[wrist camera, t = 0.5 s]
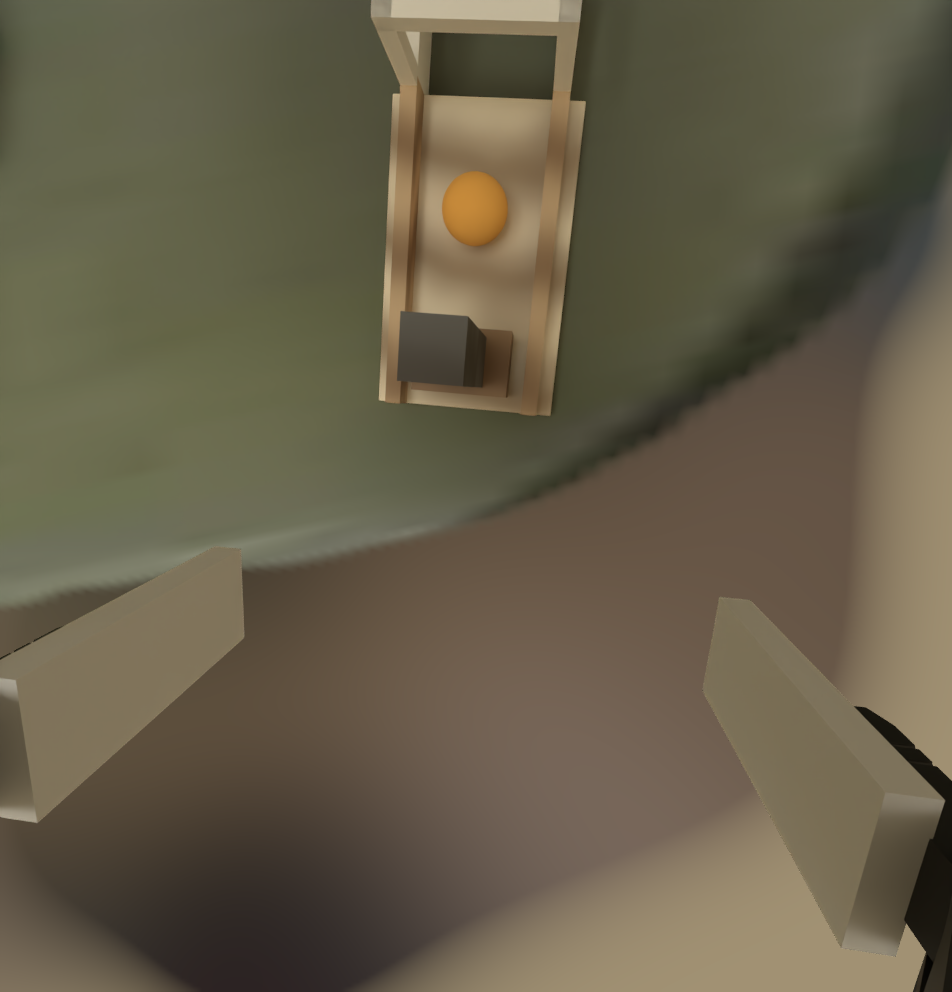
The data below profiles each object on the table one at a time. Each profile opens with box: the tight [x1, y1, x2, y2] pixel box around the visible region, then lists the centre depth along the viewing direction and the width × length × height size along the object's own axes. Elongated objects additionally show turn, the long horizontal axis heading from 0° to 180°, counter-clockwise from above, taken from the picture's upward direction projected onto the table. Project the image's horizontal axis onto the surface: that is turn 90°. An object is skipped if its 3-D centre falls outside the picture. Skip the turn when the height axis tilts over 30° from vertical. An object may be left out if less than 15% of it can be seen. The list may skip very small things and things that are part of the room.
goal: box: [371, 0, 582, 95], centre depth 29 cm, size 6×10×9 cm, turn 85°
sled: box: [397, 311, 514, 398], centre depth 29 cm, size 4×6×12 cm, turn 85°
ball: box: [442, 171, 508, 246], centre depth 32 cm, size 4×4×4 cm
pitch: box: [379, 76, 586, 416], centre depth 34 cm, size 19×12×3 cm, turn 175°
